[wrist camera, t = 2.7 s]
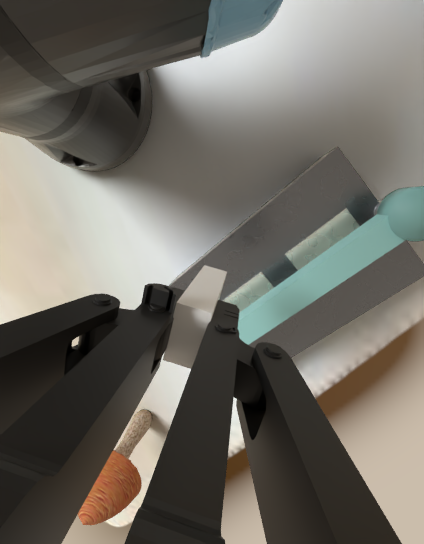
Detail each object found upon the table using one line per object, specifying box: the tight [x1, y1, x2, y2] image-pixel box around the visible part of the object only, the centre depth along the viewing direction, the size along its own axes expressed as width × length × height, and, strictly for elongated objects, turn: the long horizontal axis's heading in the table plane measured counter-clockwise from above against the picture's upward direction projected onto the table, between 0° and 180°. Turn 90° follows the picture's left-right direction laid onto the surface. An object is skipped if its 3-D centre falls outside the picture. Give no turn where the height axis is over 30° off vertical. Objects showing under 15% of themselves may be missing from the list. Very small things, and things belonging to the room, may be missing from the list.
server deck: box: [169, 147, 424, 358], centre depth 29 cm, size 15×23×8 cm, turn 130°
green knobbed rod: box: [238, 186, 424, 345], centre depth 24 cm, size 24×4×3 cm, turn 130°
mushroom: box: [78, 410, 152, 525], centre depth 34 cm, size 8×8×15 cm
